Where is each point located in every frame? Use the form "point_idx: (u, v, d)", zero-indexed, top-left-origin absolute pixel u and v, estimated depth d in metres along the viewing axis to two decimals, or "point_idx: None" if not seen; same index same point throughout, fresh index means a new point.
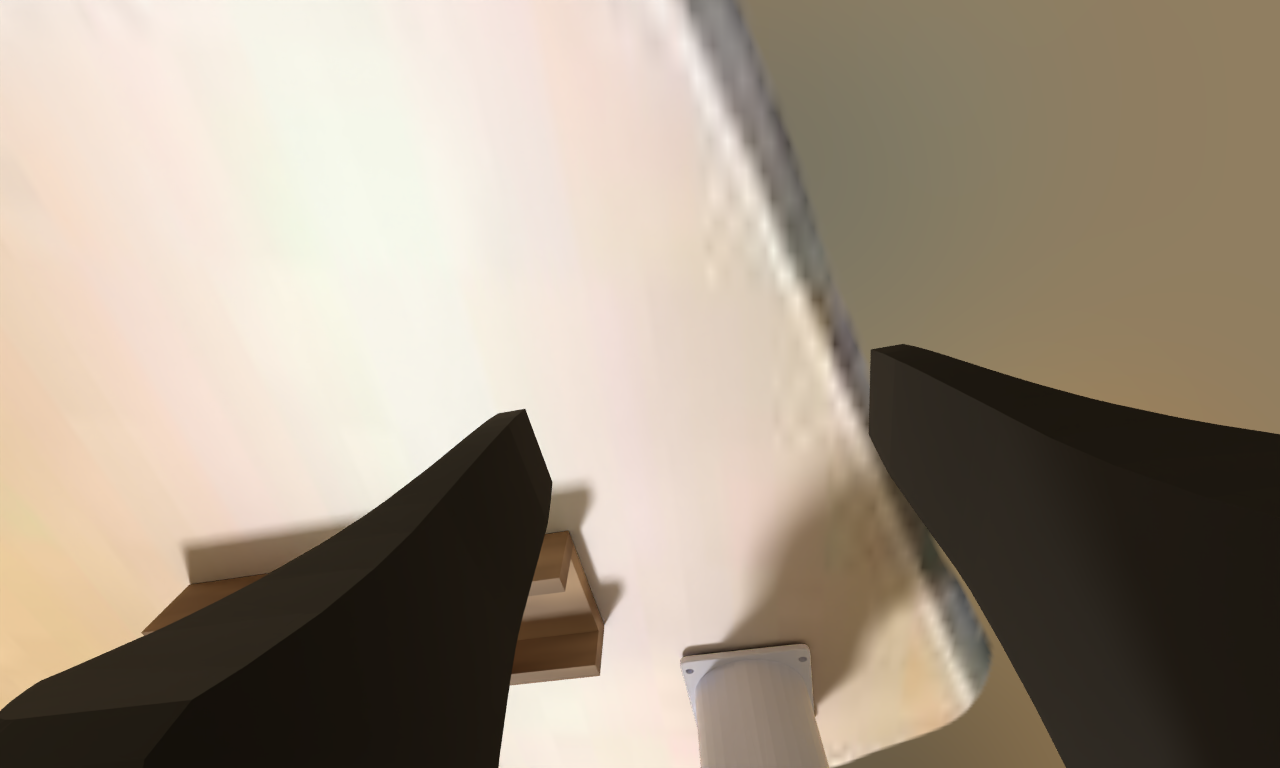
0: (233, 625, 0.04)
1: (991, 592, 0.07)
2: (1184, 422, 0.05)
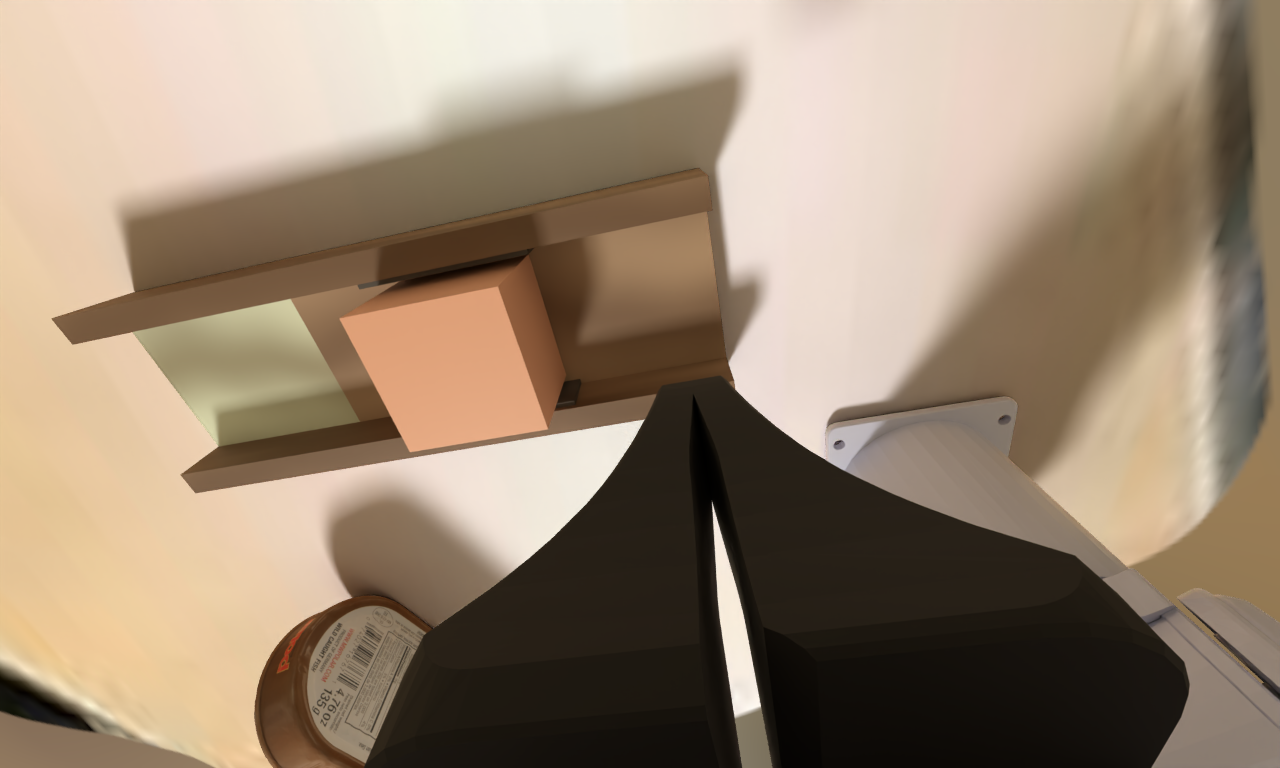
0: (594, 578, 0.04)
1: (745, 620, 0.07)
2: (835, 473, 0.05)
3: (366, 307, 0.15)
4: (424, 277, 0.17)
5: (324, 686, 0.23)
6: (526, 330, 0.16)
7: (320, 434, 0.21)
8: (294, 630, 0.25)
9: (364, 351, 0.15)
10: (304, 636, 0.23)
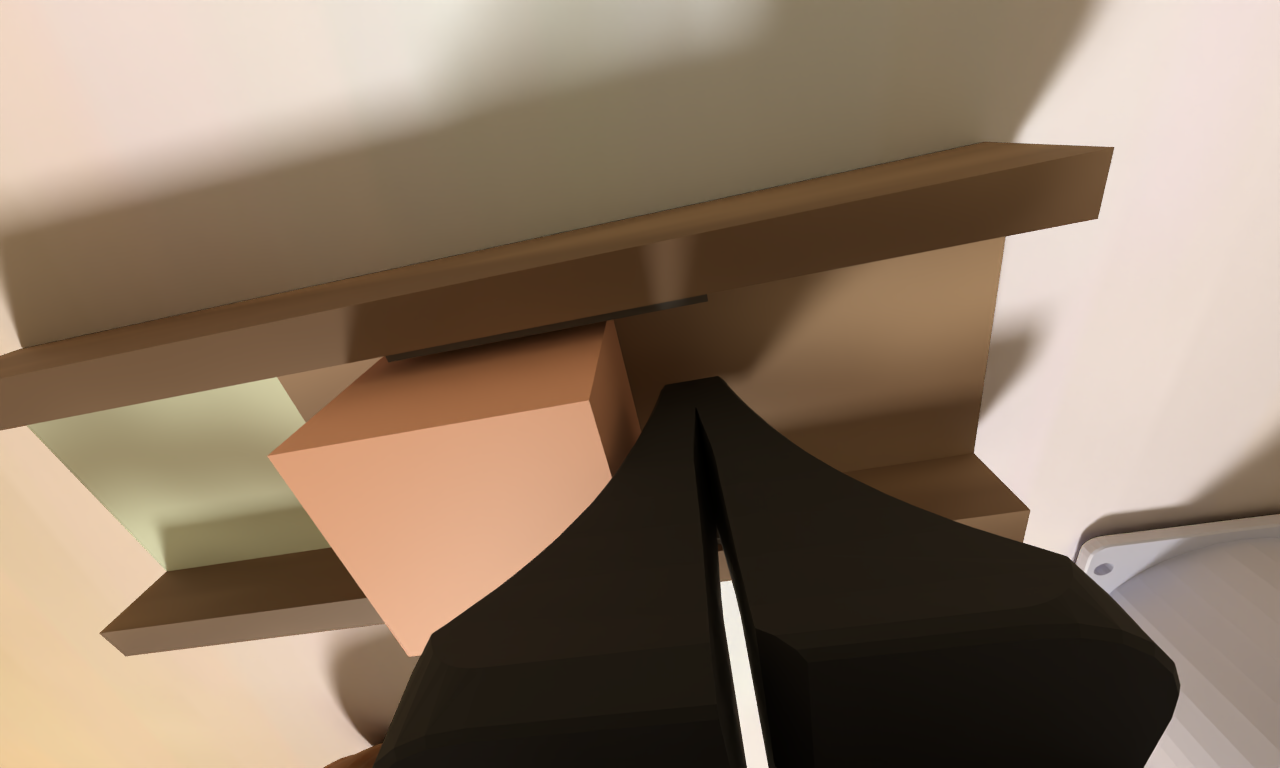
0: (601, 577, 0.04)
1: (742, 621, 0.07)
2: (830, 473, 0.05)
3: (324, 424, 0.08)
4: None
5: None
6: (622, 458, 0.08)
7: (319, 562, 0.13)
8: None
9: (320, 510, 0.08)
10: None
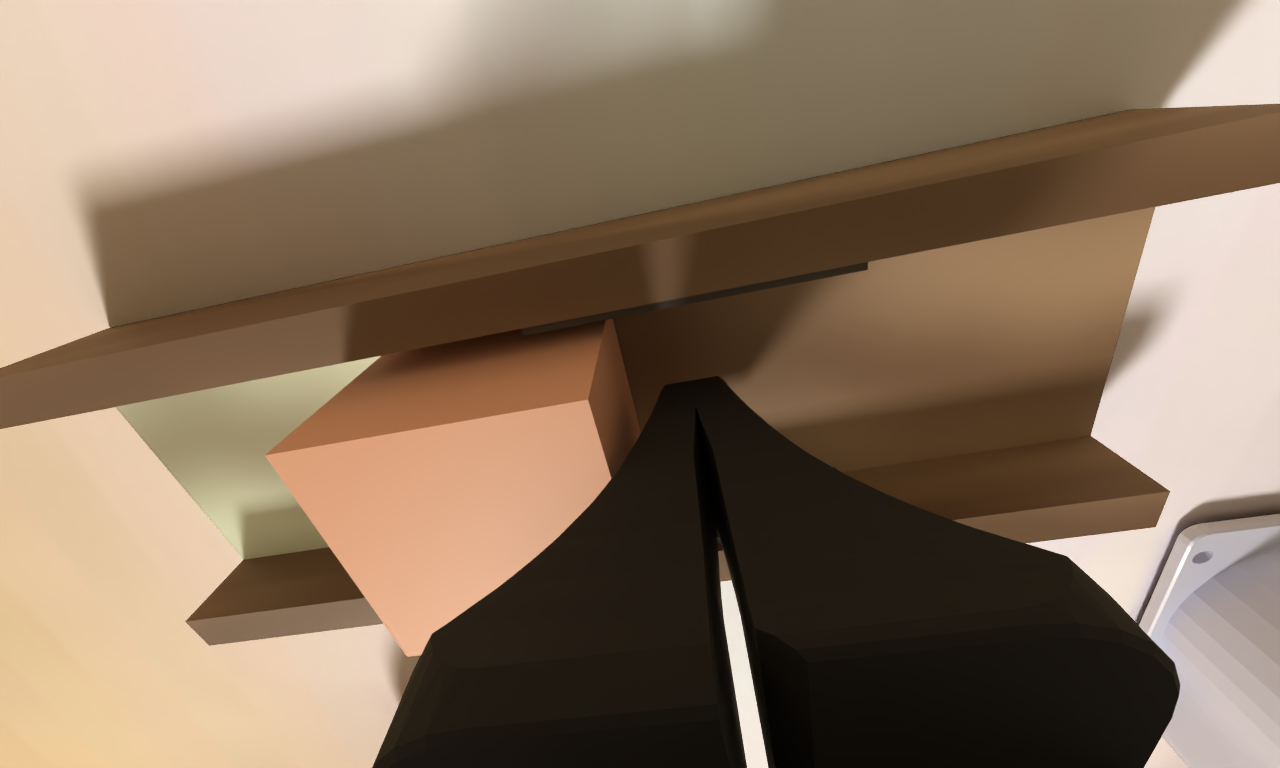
0: (602, 578, 0.04)
1: (742, 621, 0.07)
2: (830, 473, 0.05)
3: (322, 423, 0.08)
4: None
5: None
6: (621, 457, 0.08)
7: None
8: None
9: (318, 510, 0.08)
10: None
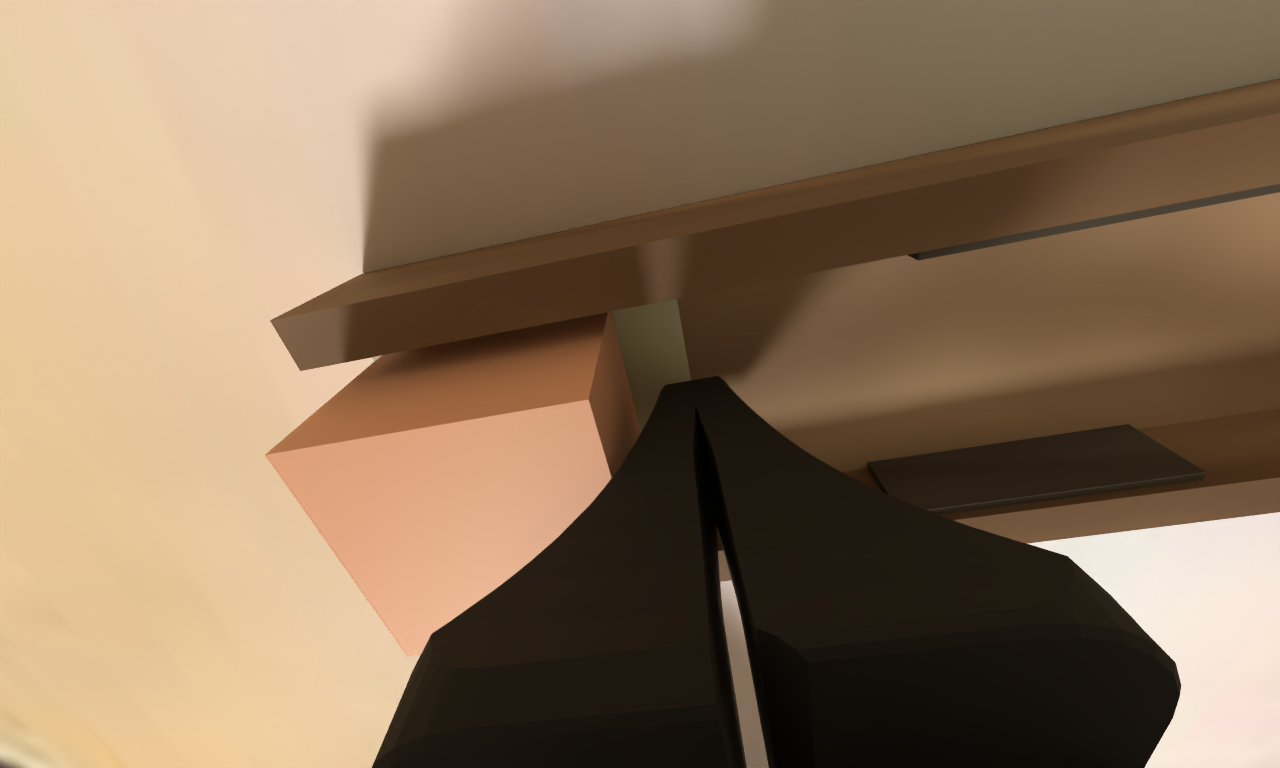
0: (602, 577, 0.04)
1: (742, 620, 0.07)
2: (830, 473, 0.05)
3: (323, 422, 0.08)
4: None
5: None
6: (621, 457, 0.08)
7: None
8: None
9: (318, 509, 0.08)
10: None
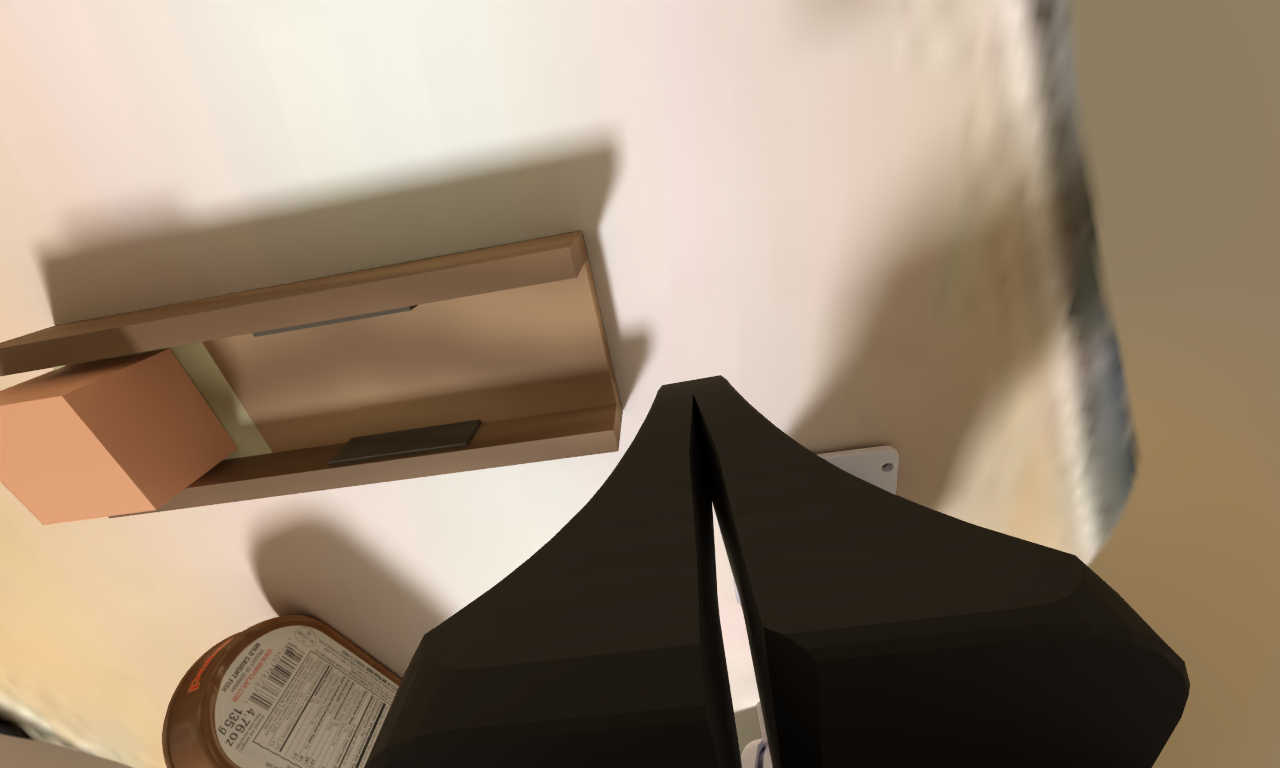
0: (595, 578, 0.04)
1: (745, 620, 0.07)
2: (835, 472, 0.05)
3: None
4: (78, 365, 0.20)
5: (234, 706, 0.23)
6: (129, 424, 0.18)
7: (232, 464, 0.21)
8: (213, 649, 0.25)
9: None
10: (218, 656, 0.24)
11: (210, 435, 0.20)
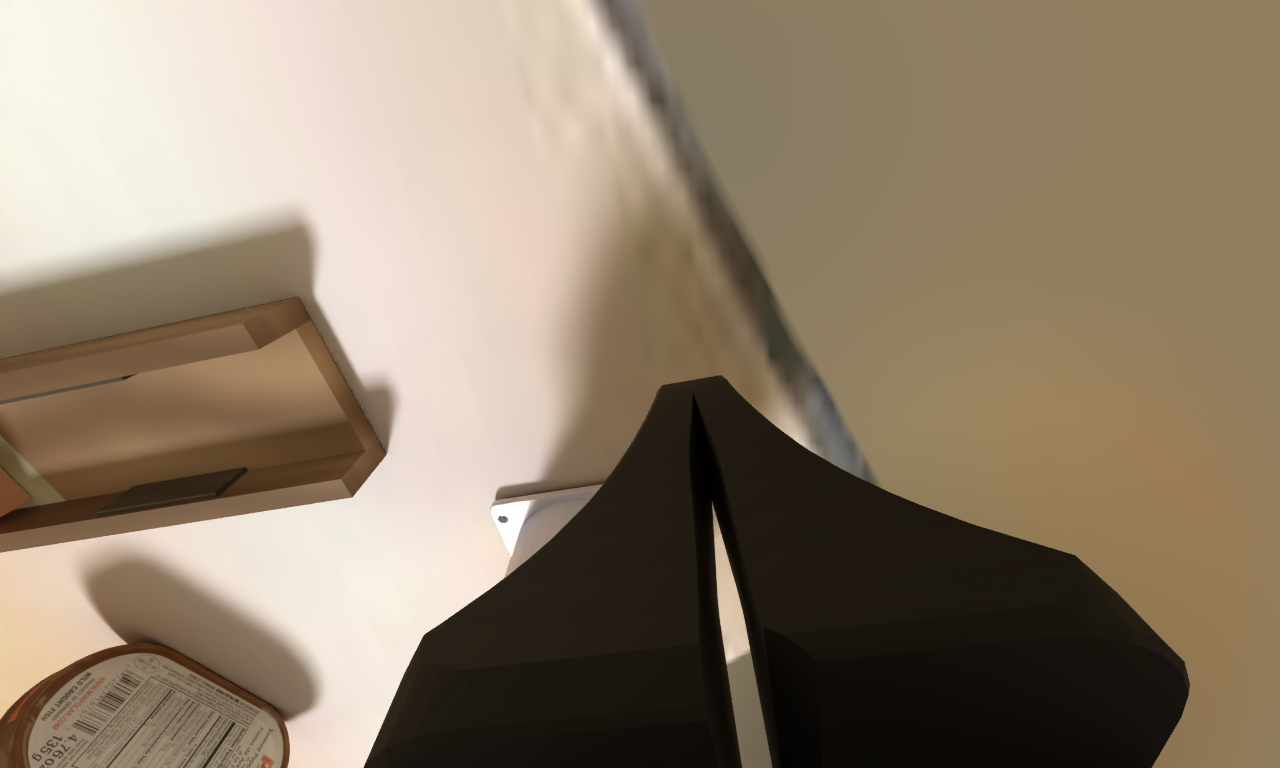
0: (595, 578, 0.04)
1: (746, 620, 0.07)
2: (835, 473, 0.05)
3: None
4: None
5: (54, 734, 0.25)
6: None
7: (27, 512, 0.23)
8: (46, 679, 0.27)
9: None
10: (41, 687, 0.26)
11: None
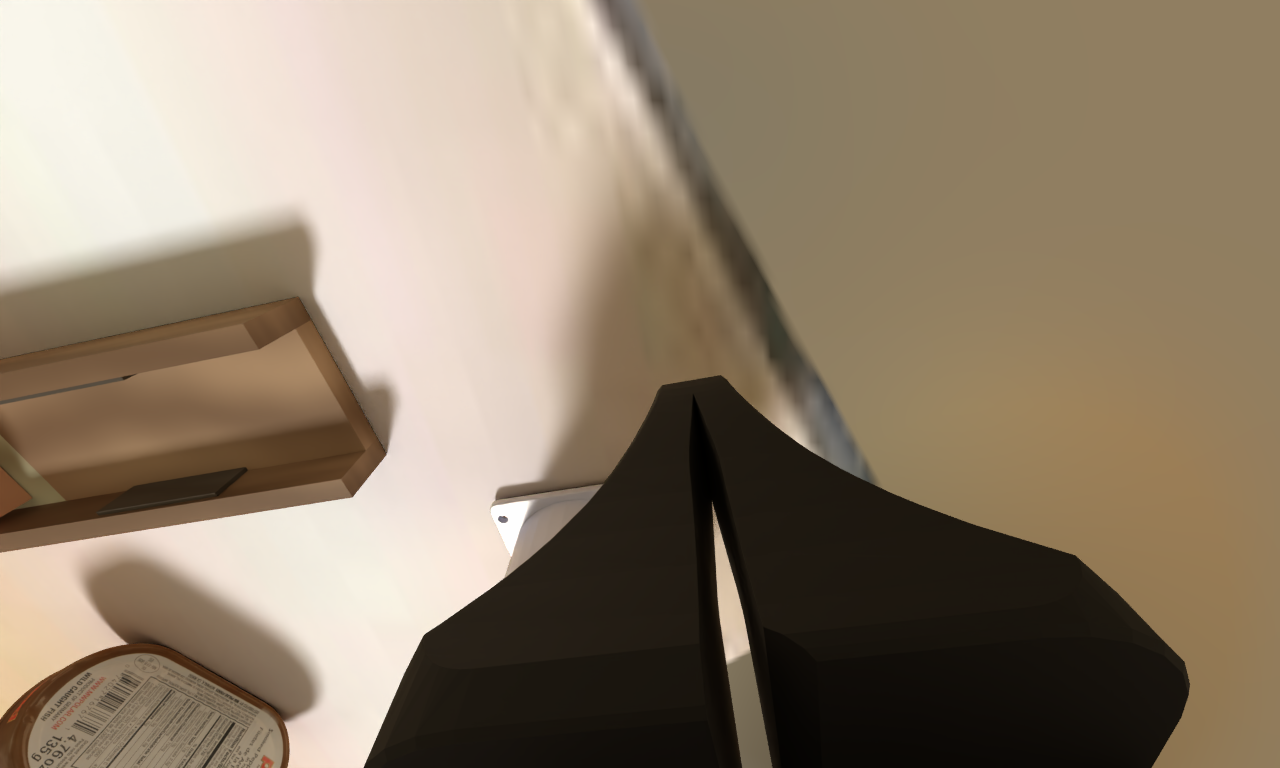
0: (595, 578, 0.04)
1: (746, 620, 0.07)
2: (835, 473, 0.05)
3: None
4: None
5: (53, 734, 0.25)
6: None
7: (27, 512, 0.23)
8: (46, 679, 0.27)
9: None
10: (41, 687, 0.26)
11: None
